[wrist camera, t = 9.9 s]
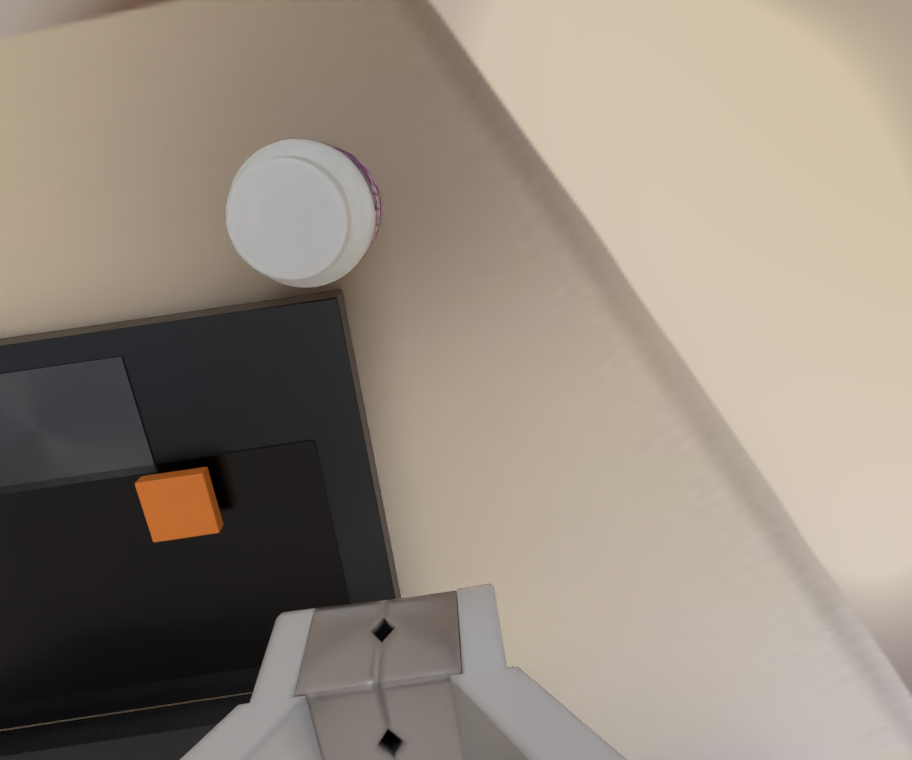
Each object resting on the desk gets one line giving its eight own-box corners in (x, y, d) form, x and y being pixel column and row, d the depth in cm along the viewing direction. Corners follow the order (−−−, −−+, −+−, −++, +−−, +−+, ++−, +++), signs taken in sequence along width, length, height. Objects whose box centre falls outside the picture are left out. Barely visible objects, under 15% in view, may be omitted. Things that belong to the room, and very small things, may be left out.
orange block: (140, 475, 31) (133, 483, 30) (207, 465, 31) (202, 473, 30) (159, 534, 32) (152, 543, 31) (224, 524, 32) (219, 533, 31)
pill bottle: (393, 254, 31) (383, 290, 22) (283, 273, 31) (228, 316, 22) (371, 135, 30) (350, 121, 21) (255, 154, 30) (182, 149, 21)
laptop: (-279, 378, 32) (-327, 393, 30) (342, 289, 32) (336, 297, 30) (-104, 720, 38) (-133, 751, 36) (409, 643, 38) (409, 670, 36)
